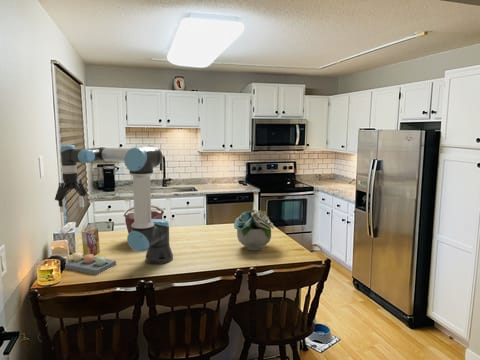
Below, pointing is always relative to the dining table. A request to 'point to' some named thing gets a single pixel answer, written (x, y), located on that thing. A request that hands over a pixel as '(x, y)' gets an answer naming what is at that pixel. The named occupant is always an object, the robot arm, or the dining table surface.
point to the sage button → (100, 261)
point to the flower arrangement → (253, 229)
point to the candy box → (90, 241)
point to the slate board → (89, 266)
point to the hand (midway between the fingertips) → (72, 209)
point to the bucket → (130, 217)
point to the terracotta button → (88, 259)
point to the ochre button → (77, 257)
